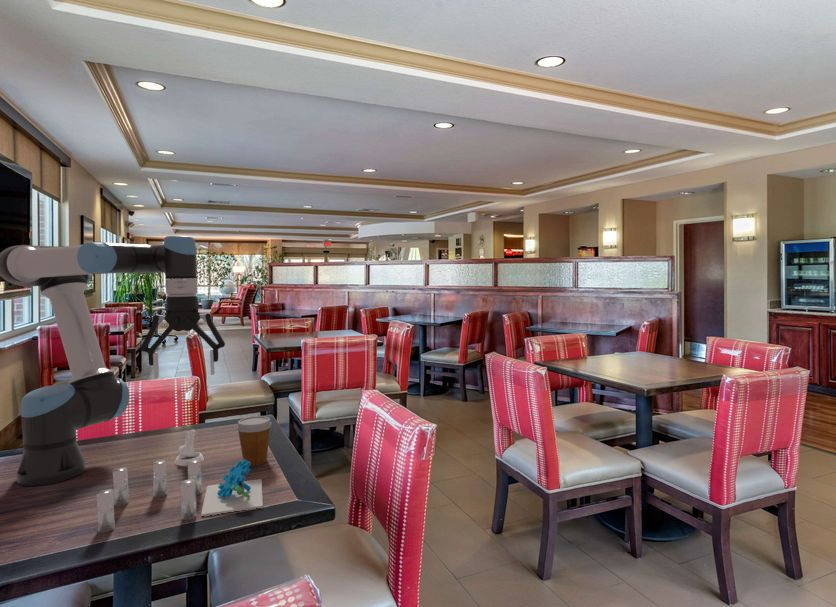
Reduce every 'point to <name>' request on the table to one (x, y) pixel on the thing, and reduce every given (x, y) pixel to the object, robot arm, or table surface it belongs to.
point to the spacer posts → (121, 494)
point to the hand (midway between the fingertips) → (185, 375)
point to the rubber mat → (232, 499)
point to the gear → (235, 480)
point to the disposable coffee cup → (254, 438)
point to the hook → (188, 450)
